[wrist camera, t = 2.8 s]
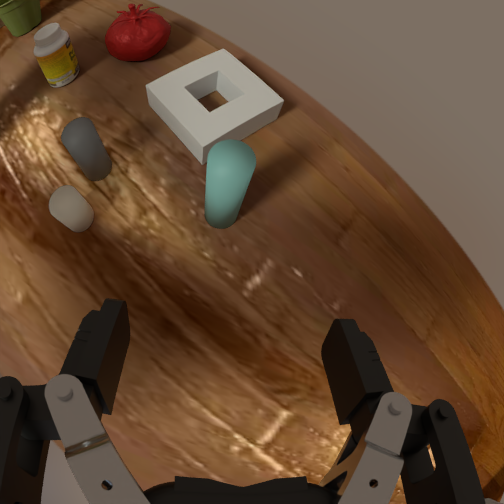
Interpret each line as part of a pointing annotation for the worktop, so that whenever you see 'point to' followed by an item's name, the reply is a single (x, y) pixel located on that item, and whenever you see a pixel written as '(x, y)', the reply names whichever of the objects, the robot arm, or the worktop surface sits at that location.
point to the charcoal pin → (87, 148)
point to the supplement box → (491, 501)
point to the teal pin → (227, 181)
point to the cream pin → (71, 208)
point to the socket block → (223, 118)
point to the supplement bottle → (55, 55)
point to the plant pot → (20, 15)
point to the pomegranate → (137, 34)
